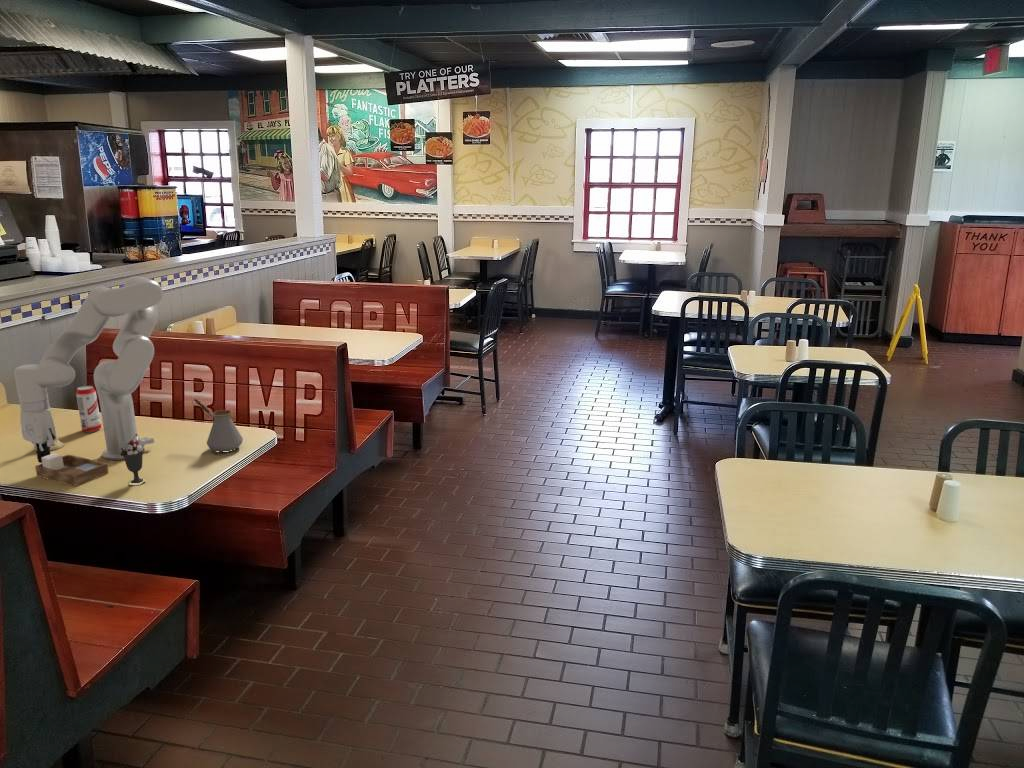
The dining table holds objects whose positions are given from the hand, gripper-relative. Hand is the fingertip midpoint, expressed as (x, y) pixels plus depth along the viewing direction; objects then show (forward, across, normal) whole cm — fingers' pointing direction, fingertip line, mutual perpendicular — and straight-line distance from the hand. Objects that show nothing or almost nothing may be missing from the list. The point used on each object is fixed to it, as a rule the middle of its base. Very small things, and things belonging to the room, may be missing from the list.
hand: (45, 461), depth 238 cm
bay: (+4, +12, +5) cm, 14 cm away
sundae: (+4, +32, +8) cm, 33 cm away
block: (+2, +4, 0) cm, 4 cm away
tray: (+4, +8, +3) cm, 10 cm away
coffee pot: (+4, +29, +41) cm, 50 cm away
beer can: (+4, -23, +32) cm, 40 cm away
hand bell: (+4, -20, +14) cm, 25 cm away
